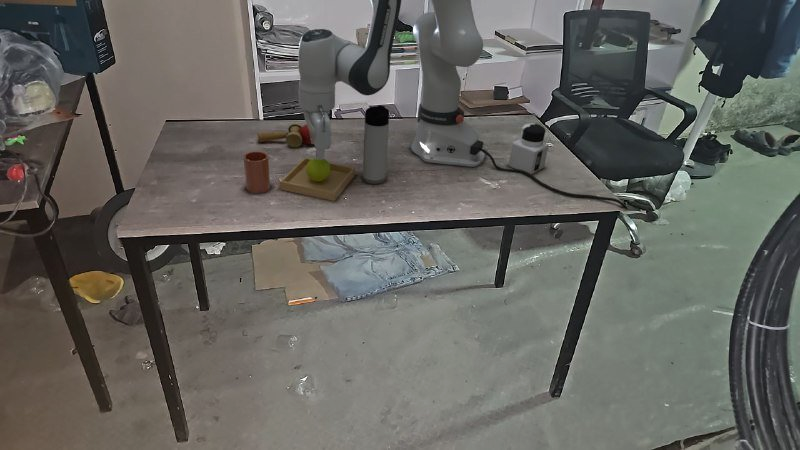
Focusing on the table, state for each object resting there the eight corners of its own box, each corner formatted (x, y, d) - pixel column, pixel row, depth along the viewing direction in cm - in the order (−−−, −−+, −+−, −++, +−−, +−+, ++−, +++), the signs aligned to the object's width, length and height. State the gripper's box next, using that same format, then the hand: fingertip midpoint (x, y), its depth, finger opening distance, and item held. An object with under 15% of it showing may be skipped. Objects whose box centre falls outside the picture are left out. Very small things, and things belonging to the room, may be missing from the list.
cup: (274, 184, 148) (272, 153, 143) (263, 195, 143) (260, 163, 138) (253, 180, 149) (251, 149, 144) (242, 190, 144) (239, 159, 139)
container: (543, 167, 167) (553, 127, 160) (530, 175, 162) (539, 134, 155) (521, 158, 171) (530, 118, 164) (507, 166, 166) (515, 125, 159)
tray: (355, 175, 155) (355, 167, 154) (334, 201, 143) (334, 192, 141) (304, 165, 158) (304, 157, 157) (279, 189, 146) (279, 181, 145)
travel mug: (389, 175, 156) (393, 107, 145) (380, 186, 151) (384, 116, 140) (368, 171, 158) (370, 103, 147) (359, 181, 152) (361, 111, 142)
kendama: (258, 152, 166) (319, 146, 166) (254, 131, 163) (316, 125, 164) (262, 145, 173) (321, 139, 173) (259, 125, 171) (318, 119, 171)
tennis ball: (334, 177, 152) (334, 155, 149) (325, 187, 147) (324, 166, 143) (312, 172, 153) (312, 151, 150) (302, 183, 148) (301, 161, 145)
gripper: (337, 114, 130) (336, 168, 138) (322, 85, 147) (322, 134, 154) (310, 115, 129) (310, 169, 136) (298, 85, 145) (299, 135, 152)
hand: (316, 150), depth 145 cm, fingers open, 8 cm apart
